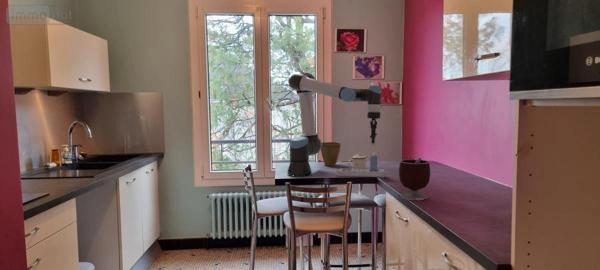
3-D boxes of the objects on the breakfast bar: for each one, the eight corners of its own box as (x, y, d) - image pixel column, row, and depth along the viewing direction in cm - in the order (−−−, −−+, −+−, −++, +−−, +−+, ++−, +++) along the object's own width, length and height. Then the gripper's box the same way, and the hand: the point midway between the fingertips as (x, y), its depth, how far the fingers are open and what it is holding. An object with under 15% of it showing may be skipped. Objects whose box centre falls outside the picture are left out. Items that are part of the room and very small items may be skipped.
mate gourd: (395, 194, 182) (395, 153, 180) (424, 193, 182) (424, 152, 180) (404, 202, 166) (404, 158, 165) (435, 202, 166) (436, 157, 165)
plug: (370, 176, 223) (370, 153, 222) (370, 174, 227) (370, 152, 225) (377, 176, 222) (377, 153, 221) (377, 174, 226) (377, 152, 225)
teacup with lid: (363, 169, 252) (363, 151, 251) (368, 171, 243) (368, 153, 242) (346, 169, 250) (346, 152, 249) (350, 172, 241) (350, 154, 240)
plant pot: (323, 167, 261) (323, 144, 260) (317, 164, 275) (317, 142, 274) (343, 166, 265) (343, 143, 263) (336, 163, 279) (336, 141, 278)
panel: (336, 177, 224) (336, 170, 224) (337, 174, 233) (337, 168, 233) (384, 178, 219) (384, 171, 218) (383, 175, 228) (383, 169, 227)
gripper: (380, 112, 208) (379, 150, 210) (380, 111, 232) (379, 145, 235) (367, 112, 210) (366, 149, 212) (368, 110, 234) (367, 144, 236)
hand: (373, 147), depth 223 cm, fingers open, 13 cm apart
